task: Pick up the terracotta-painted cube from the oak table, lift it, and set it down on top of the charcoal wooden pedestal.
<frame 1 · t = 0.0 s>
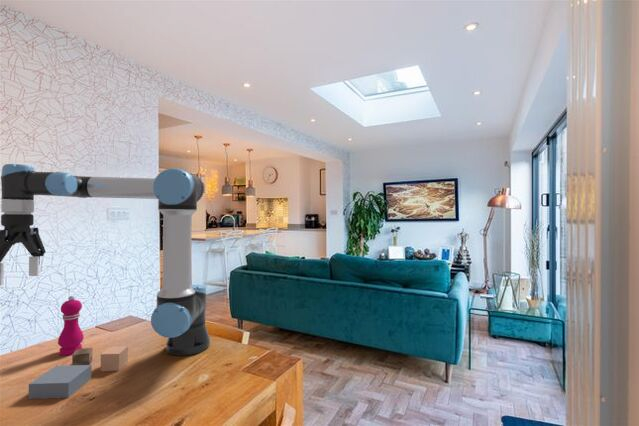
hand: (16, 280, 101), 28 cm above the table, tool pointing down, fingers open, 13 cm apart
pedestal: (61, 387, 91), on the table
walnut block: (82, 364, 104), on the table
pepper mill: (70, 352, 114), on the table
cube: (114, 367, 104), on the table
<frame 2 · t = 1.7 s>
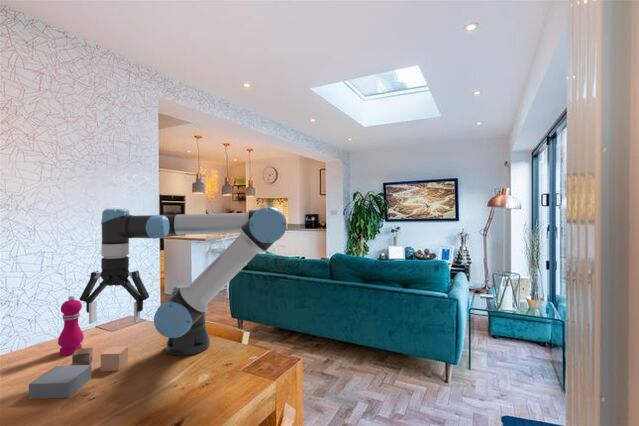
hand: (115, 321, 103), 15 cm above the table, tool pointing down, fingers open, 13 cm apart
nothing on the table moved.
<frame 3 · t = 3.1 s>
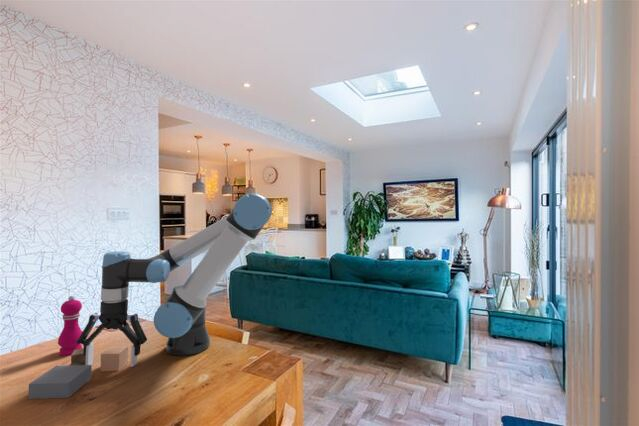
hand: (111, 365, 103), 1 cm above the table, tool pointing down, fingers open, 13 cm apart
walnut block: (81, 365, 104), on the table, touching gripper
everything else where it was.
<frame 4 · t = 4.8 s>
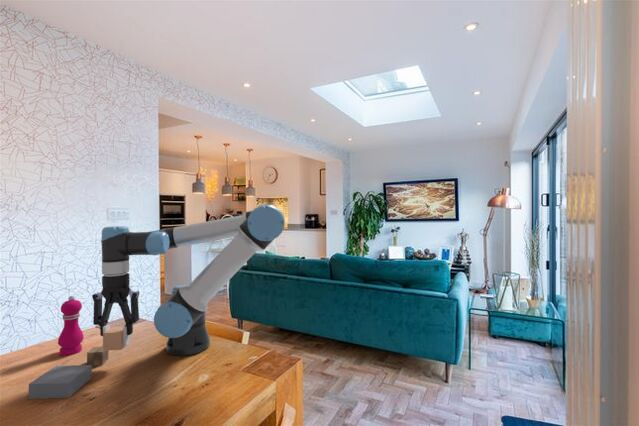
hand: (116, 344, 104), 7 cm above the table, tool pointing down, fingers closed on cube, 5 cm apart
walnut block: (90, 356, 106), point 2 cm above the table, tilted 90°
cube: (116, 346, 104), point 7 cm above the table, touching gripper
everything else where it was.
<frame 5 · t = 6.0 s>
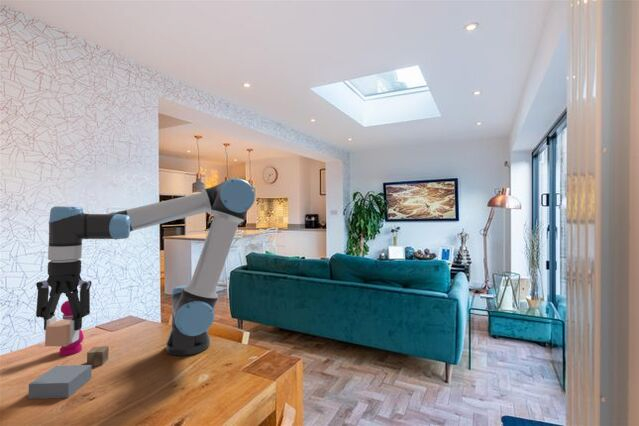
hand: (62, 341, 91), 13 cm above the table, tool pointing down, fingers closed on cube, 5 cm apart
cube: (62, 342, 91), point 13 cm above the table, touching gripper
everything else where it was.
when the fingers open (4 cm above the table, at t = 7.6 s): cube stays where it is, resting on pedestal.
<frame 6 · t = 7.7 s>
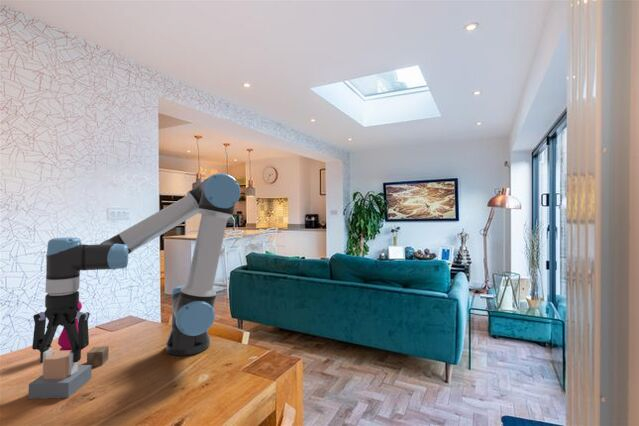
hand: (60, 373, 91), 4 cm above the table, tool pointing down, fingers open, 6 cm apart
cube: (61, 373, 91), point 4 cm above the table, touching gripper, pedestal
everything else where it was.
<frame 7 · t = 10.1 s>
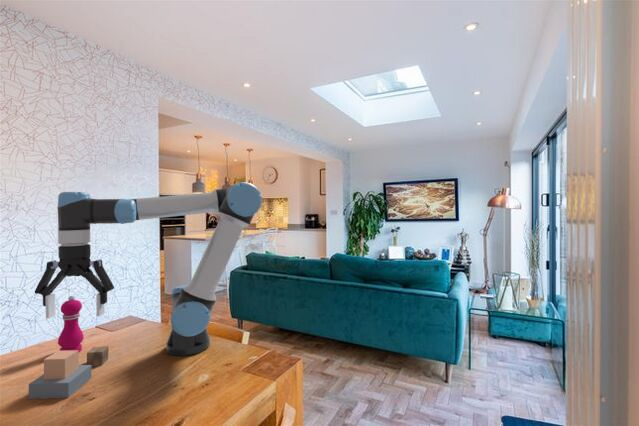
hand: (75, 316, 94), 19 cm above the table, tool pointing down, fingers open, 13 cm apart
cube: (61, 373, 91), point 4 cm above the table, touching pedestal
everything else where it was.
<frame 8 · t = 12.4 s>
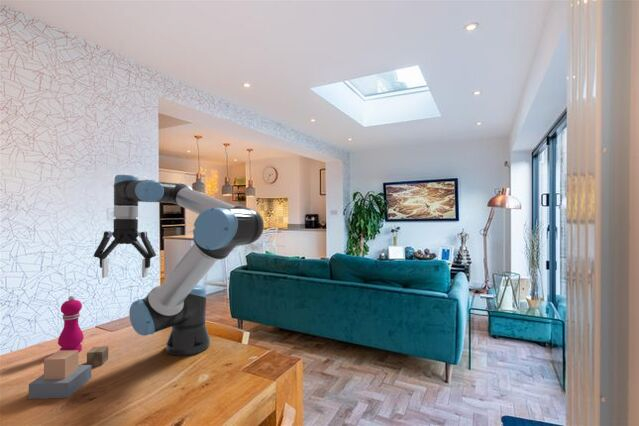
hand: (125, 276, 115), 27 cm above the table, tool pointing down, fingers open, 13 cm apart
nothing on the table moved.
at the end: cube inside the target area on the pedestal (0.2 cm from its centre), point 4.0 cm above the pedestal's base; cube tilted 0°; the gripper is holding nothing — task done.
